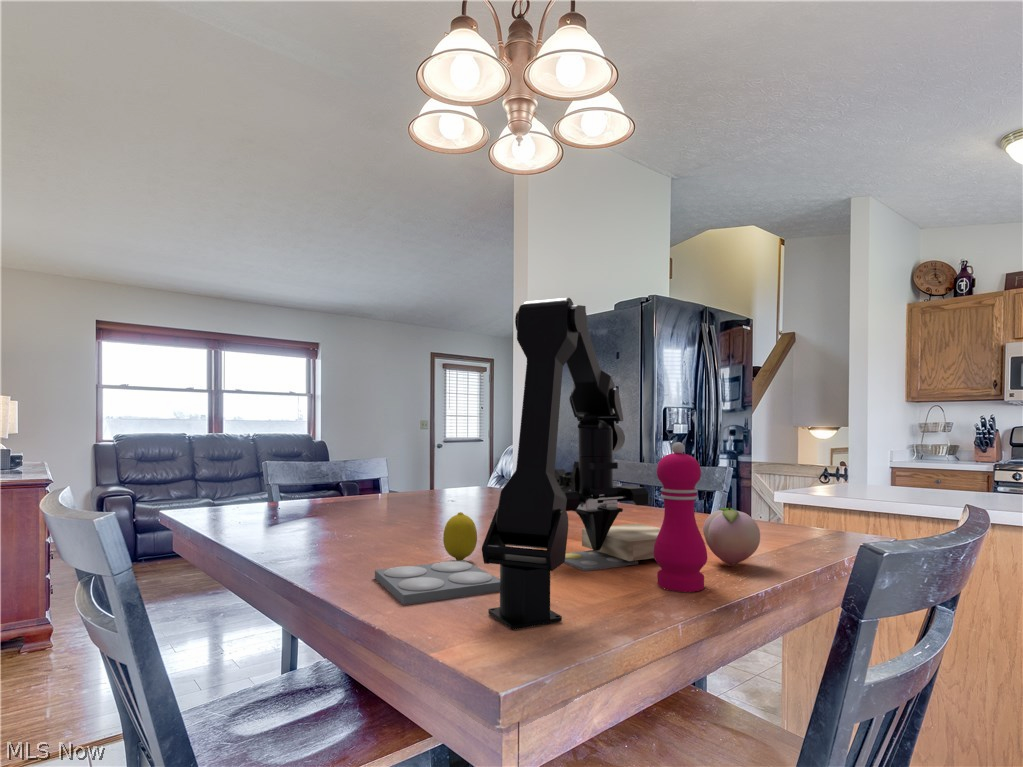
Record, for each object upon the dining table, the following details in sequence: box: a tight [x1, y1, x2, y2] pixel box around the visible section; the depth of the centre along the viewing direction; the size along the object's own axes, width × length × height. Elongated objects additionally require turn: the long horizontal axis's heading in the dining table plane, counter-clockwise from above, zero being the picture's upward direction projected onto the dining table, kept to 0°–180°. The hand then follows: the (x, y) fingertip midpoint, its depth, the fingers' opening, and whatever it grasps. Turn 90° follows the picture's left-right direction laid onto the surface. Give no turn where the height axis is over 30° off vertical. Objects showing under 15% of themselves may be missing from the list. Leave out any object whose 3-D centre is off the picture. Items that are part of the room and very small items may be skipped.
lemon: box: [442, 511, 478, 561], centre depth 93 cm, size 6×6×8 cm
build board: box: [374, 559, 500, 606], centre depth 80 cm, size 14×14×1 cm
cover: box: [581, 523, 661, 561], centre depth 99 cm, size 13×13×3 cm
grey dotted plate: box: [563, 549, 639, 572], centre depth 94 cm, size 10×10×1 cm
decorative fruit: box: [702, 502, 761, 567], centre depth 92 cm, size 9×8×10 cm
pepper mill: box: [653, 441, 708, 593], centre depth 80 cm, size 7×7×20 cm
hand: (596, 550), depth 95 cm, fingers closed
